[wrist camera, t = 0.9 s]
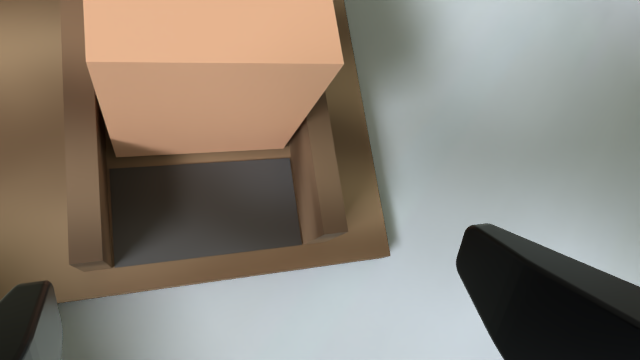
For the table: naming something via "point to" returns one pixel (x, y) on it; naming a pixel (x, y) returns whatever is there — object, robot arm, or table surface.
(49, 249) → the tray
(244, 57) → the slider block
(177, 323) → the table surface
